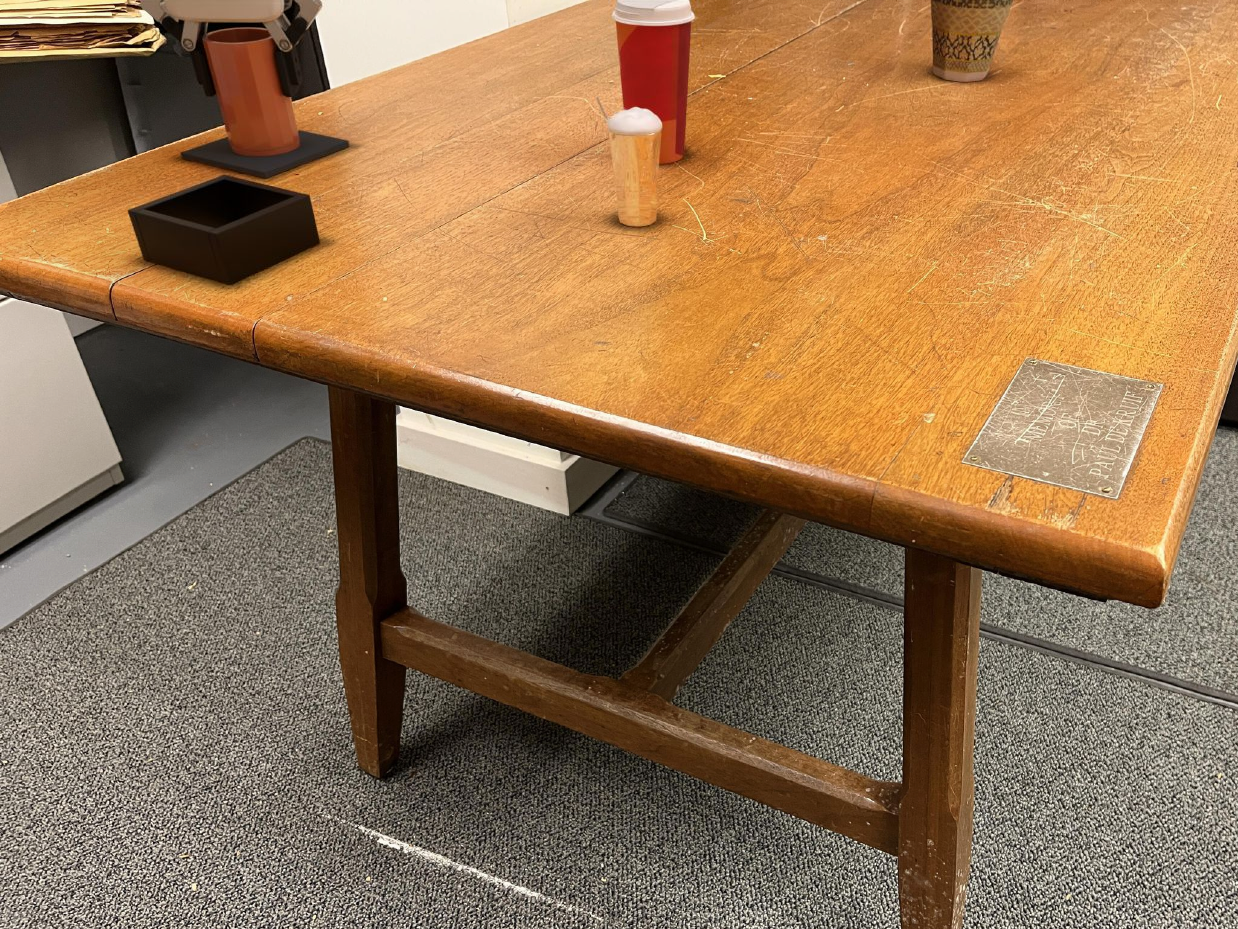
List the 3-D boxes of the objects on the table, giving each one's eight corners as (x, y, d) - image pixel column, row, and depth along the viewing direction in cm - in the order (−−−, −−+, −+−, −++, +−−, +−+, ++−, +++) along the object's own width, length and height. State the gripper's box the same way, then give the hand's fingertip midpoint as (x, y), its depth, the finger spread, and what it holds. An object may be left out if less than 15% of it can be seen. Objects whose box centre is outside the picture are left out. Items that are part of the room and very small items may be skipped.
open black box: (143, 259, 83) (126, 209, 81) (236, 221, 90) (224, 174, 87) (230, 285, 80) (215, 233, 77) (320, 243, 86) (309, 194, 84)
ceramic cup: (992, 89, 128) (1007, -3, 121) (911, 79, 130) (922, -11, 124) (1010, 64, 137) (1026, -22, 131) (935, 56, 140) (946, -29, 134)
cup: (216, 149, 102) (186, 37, 96) (267, 132, 107) (241, 24, 101) (265, 160, 100) (237, 46, 94) (314, 142, 105) (291, 32, 98)
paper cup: (659, 137, 110) (656, -12, 101) (710, 156, 106) (712, 1, 97) (600, 153, 106) (592, -1, 97) (651, 173, 101) (648, 13, 93)
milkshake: (608, 208, 94) (603, 89, 88) (667, 212, 93) (666, 93, 87) (596, 227, 90) (590, 105, 84) (658, 231, 90) (656, 109, 84)
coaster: (181, 158, 102) (179, 152, 101) (268, 128, 110) (267, 122, 109) (265, 178, 98) (264, 172, 98) (349, 146, 106) (348, 140, 105)
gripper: (75, -126, 86) (145, 103, 97) (292, -122, 87) (337, 105, 98) (112, -136, 92) (174, 81, 103) (315, -133, 93) (355, 83, 104)
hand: (253, 91), depth 100 cm, fingers closed on cup, 6 cm apart
